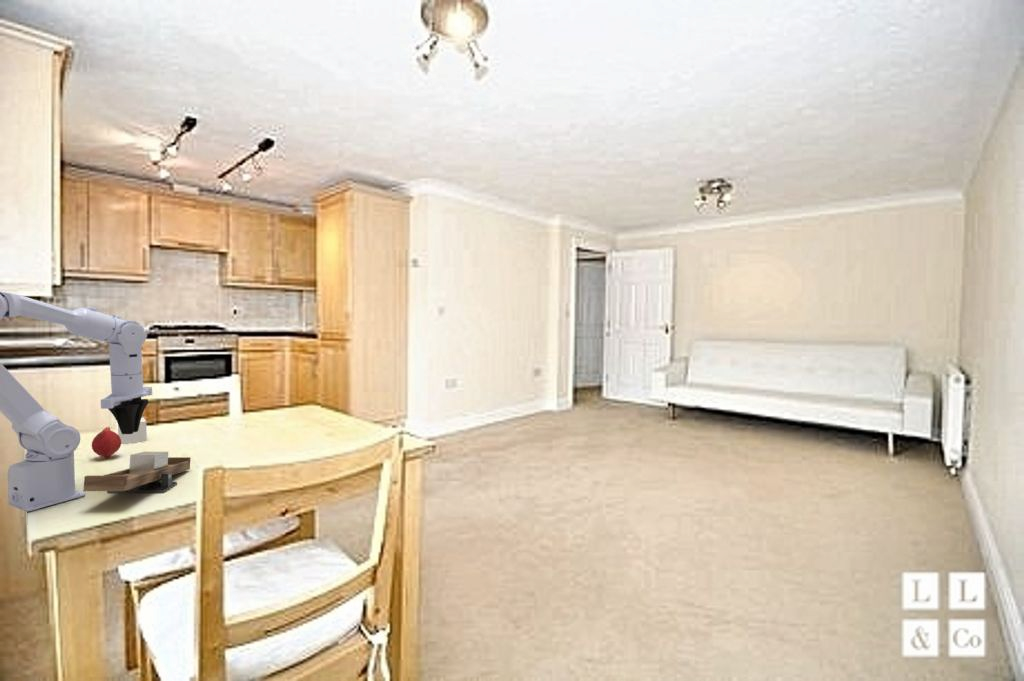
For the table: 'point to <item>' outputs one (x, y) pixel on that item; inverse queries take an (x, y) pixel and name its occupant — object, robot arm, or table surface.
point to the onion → (106, 443)
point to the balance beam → (133, 477)
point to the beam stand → (152, 486)
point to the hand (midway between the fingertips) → (129, 432)
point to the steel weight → (147, 462)
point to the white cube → (134, 434)
